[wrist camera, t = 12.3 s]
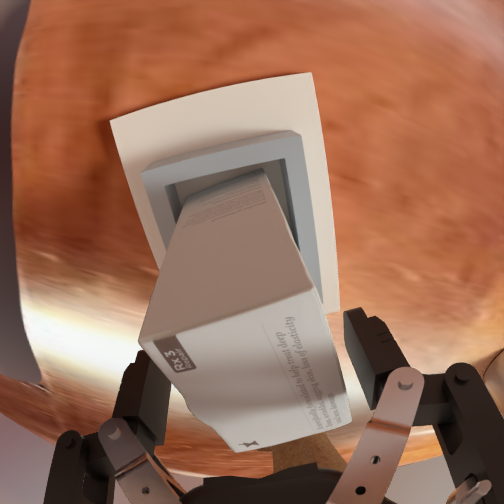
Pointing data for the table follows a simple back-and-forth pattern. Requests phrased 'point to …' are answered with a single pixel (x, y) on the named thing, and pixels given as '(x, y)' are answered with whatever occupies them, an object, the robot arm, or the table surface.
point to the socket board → (235, 162)
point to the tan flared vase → (306, 453)
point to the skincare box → (244, 321)
